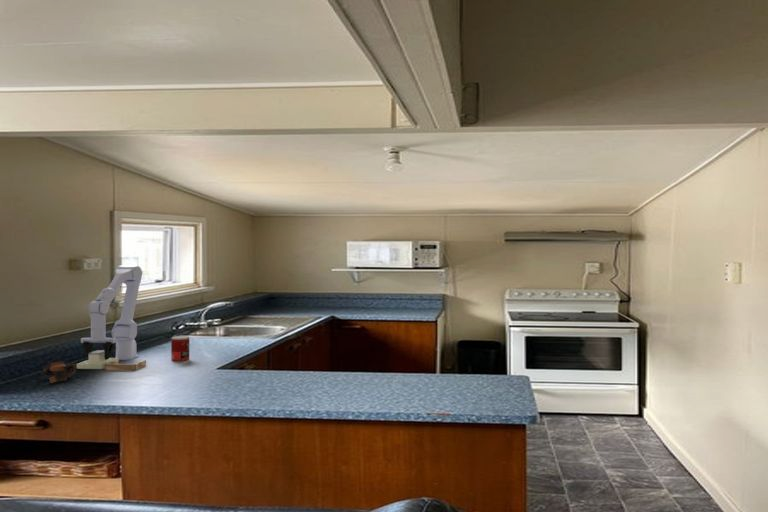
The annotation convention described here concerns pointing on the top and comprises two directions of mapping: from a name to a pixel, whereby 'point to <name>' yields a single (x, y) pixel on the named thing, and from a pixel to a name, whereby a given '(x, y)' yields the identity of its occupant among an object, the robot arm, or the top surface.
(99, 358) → the grey box
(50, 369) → the toy turtle
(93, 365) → the tray
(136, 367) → the dock
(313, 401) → the top surface
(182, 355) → the canned food
